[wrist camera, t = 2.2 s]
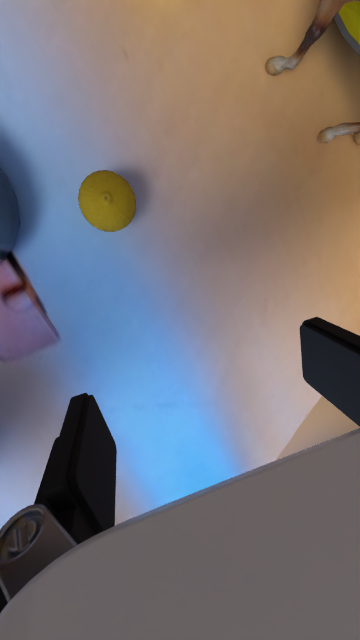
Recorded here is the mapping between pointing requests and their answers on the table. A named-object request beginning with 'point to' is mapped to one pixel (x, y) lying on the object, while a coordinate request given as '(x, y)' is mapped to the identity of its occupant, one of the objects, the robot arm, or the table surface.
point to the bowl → (7, 217)
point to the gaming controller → (350, 24)
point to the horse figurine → (326, 12)
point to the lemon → (107, 201)
